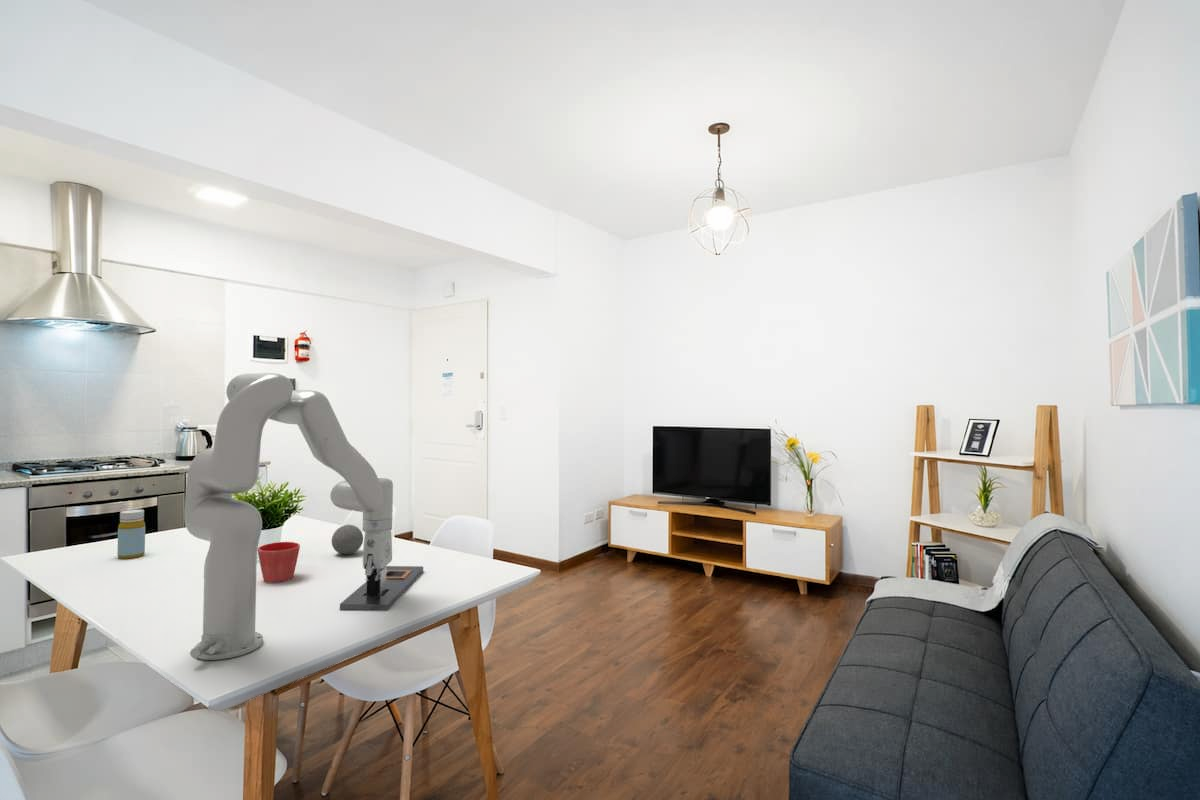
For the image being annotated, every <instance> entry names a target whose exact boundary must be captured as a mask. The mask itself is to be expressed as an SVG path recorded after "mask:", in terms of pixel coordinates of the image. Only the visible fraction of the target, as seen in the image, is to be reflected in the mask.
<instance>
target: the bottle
mask: <svg viewBox="0 0 1200 800" xmlns="http://www.w3.org/2000/svg"><path fill="white" fill-rule="evenodd" d="M145 551H146V523H145V510H144V509H126V510H122V511H120V512H119V523H118V526H117V557H118V558H119V559H120V560H130V559H137V558H140V557H142V556H144V555H145Z"/></svg>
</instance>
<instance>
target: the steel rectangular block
mask: <svg viewBox="0 0 1200 800" xmlns="http://www.w3.org/2000/svg"><path fill="white" fill-rule="evenodd" d="M372 568H376V567H375V566H373V567H372ZM386 570H387V567H384V568H383V569H381V570H379V577H378V580H380V589H379V595H377V596H384V595H385V594H386ZM372 572H374V573H375V572H376V571H372ZM365 576H366V575H365ZM365 582H366V596H373V595H367V576H366V577H365Z"/></svg>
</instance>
